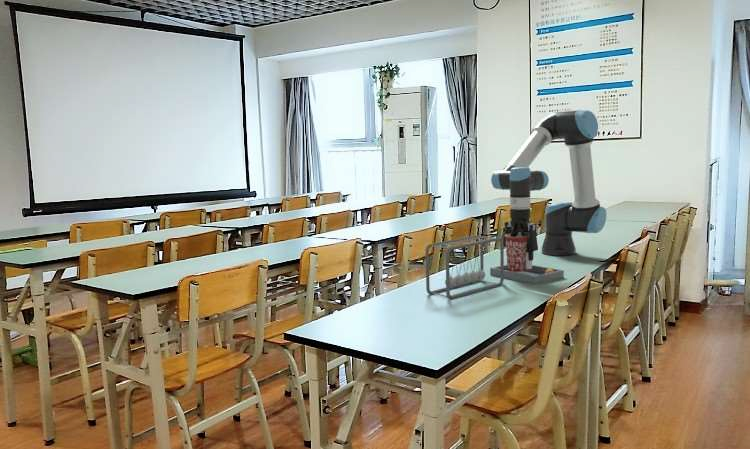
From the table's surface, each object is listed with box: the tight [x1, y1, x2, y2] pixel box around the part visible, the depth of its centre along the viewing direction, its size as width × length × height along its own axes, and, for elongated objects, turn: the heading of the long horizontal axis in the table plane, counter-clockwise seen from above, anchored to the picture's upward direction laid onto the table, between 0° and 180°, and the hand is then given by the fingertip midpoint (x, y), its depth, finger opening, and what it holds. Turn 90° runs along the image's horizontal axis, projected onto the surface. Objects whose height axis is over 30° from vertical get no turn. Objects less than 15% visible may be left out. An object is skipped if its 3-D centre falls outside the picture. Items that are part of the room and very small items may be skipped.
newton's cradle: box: [425, 234, 505, 300], centre depth 209 cm, size 30×10×18 cm, turn 130°
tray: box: [489, 264, 565, 285], centre depth 226 cm, size 16×22×3 cm
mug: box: [505, 233, 529, 272], centre depth 228 cm, size 13×9×14 cm
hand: (520, 267), depth 228 cm, fingers closed on mug, 8 cm apart
